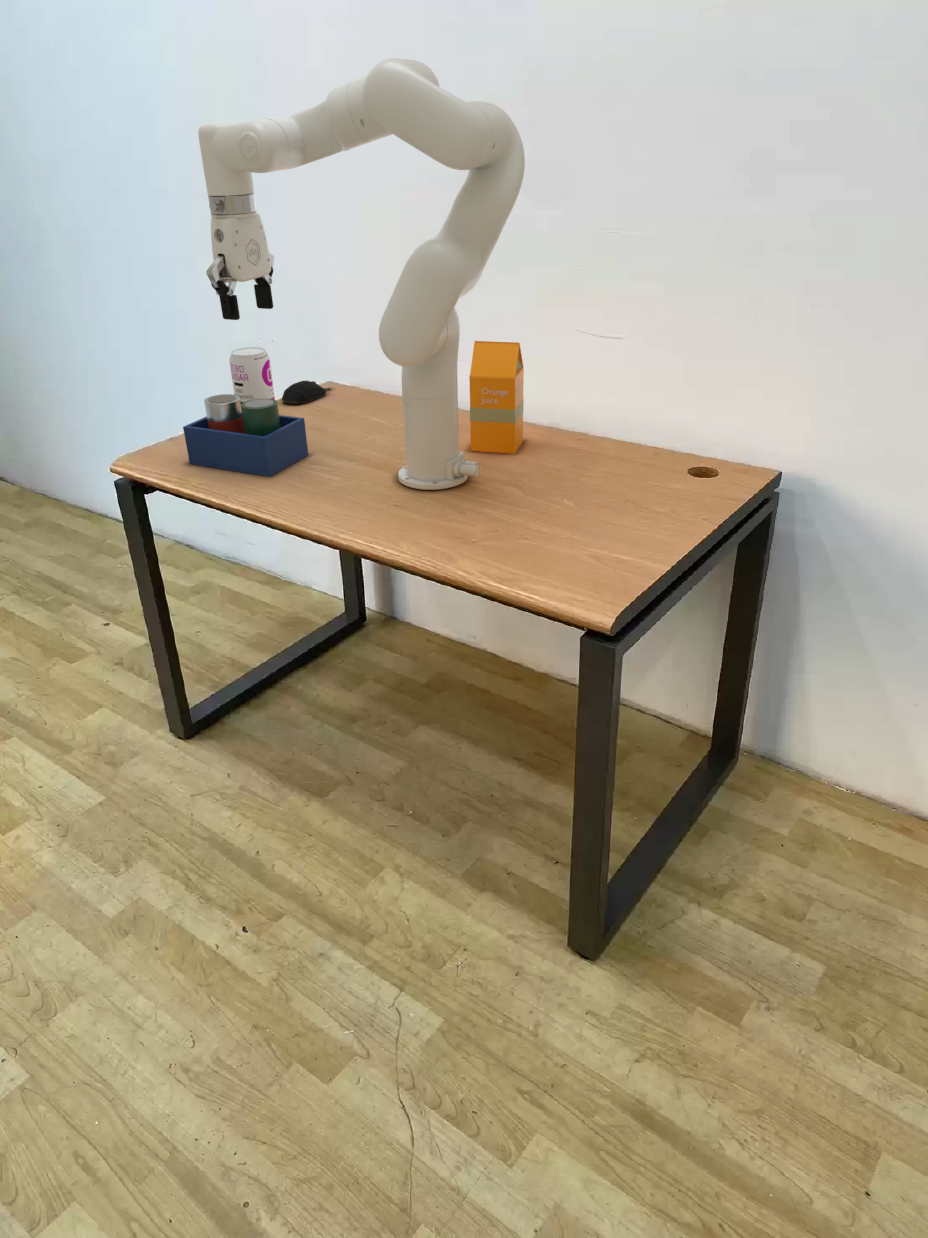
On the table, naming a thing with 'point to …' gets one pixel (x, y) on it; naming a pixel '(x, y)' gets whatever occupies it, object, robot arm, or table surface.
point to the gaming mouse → (303, 392)
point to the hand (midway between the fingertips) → (248, 313)
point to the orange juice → (496, 397)
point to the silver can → (224, 413)
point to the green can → (260, 416)
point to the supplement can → (251, 374)
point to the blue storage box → (247, 447)
